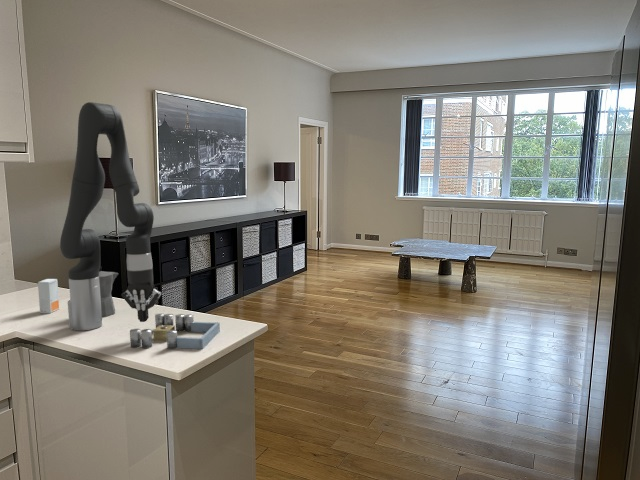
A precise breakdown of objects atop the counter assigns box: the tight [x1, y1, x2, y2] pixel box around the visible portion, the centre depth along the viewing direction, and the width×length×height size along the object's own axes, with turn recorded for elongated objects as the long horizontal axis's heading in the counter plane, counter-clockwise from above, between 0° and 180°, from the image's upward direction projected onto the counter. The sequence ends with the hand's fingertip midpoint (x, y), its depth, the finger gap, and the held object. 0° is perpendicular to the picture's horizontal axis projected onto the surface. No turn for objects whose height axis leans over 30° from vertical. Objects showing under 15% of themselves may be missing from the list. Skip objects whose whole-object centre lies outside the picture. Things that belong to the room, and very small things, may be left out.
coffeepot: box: [99, 265, 120, 318], centre depth 176 cm, size 15×9×18 cm, turn 129°
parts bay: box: [176, 321, 221, 350], centre depth 151 cm, size 10×16×3 cm, turn 174°
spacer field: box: [129, 313, 195, 350], centre depth 152 cm, size 14×19×5 cm
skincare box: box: [37, 278, 60, 314], centre depth 181 cm, size 6×4×12 cm
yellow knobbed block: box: [152, 324, 176, 342], centre depth 152 cm, size 5×5×4 cm
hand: (143, 321), depth 152 cm, fingers closed
